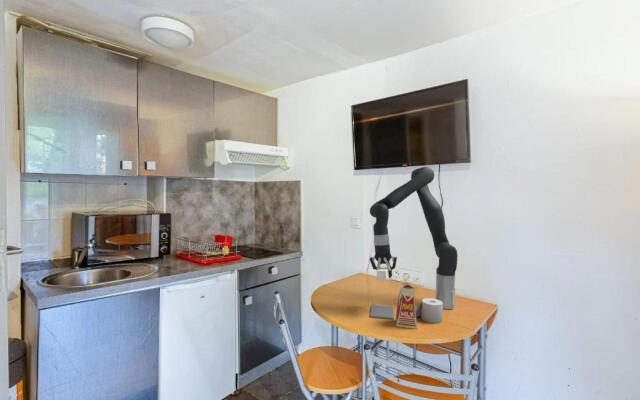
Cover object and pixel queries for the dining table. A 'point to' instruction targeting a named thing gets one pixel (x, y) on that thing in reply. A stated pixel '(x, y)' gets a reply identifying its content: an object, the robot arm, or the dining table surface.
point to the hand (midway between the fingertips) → (384, 277)
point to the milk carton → (406, 307)
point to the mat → (382, 312)
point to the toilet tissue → (430, 310)
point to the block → (382, 273)
